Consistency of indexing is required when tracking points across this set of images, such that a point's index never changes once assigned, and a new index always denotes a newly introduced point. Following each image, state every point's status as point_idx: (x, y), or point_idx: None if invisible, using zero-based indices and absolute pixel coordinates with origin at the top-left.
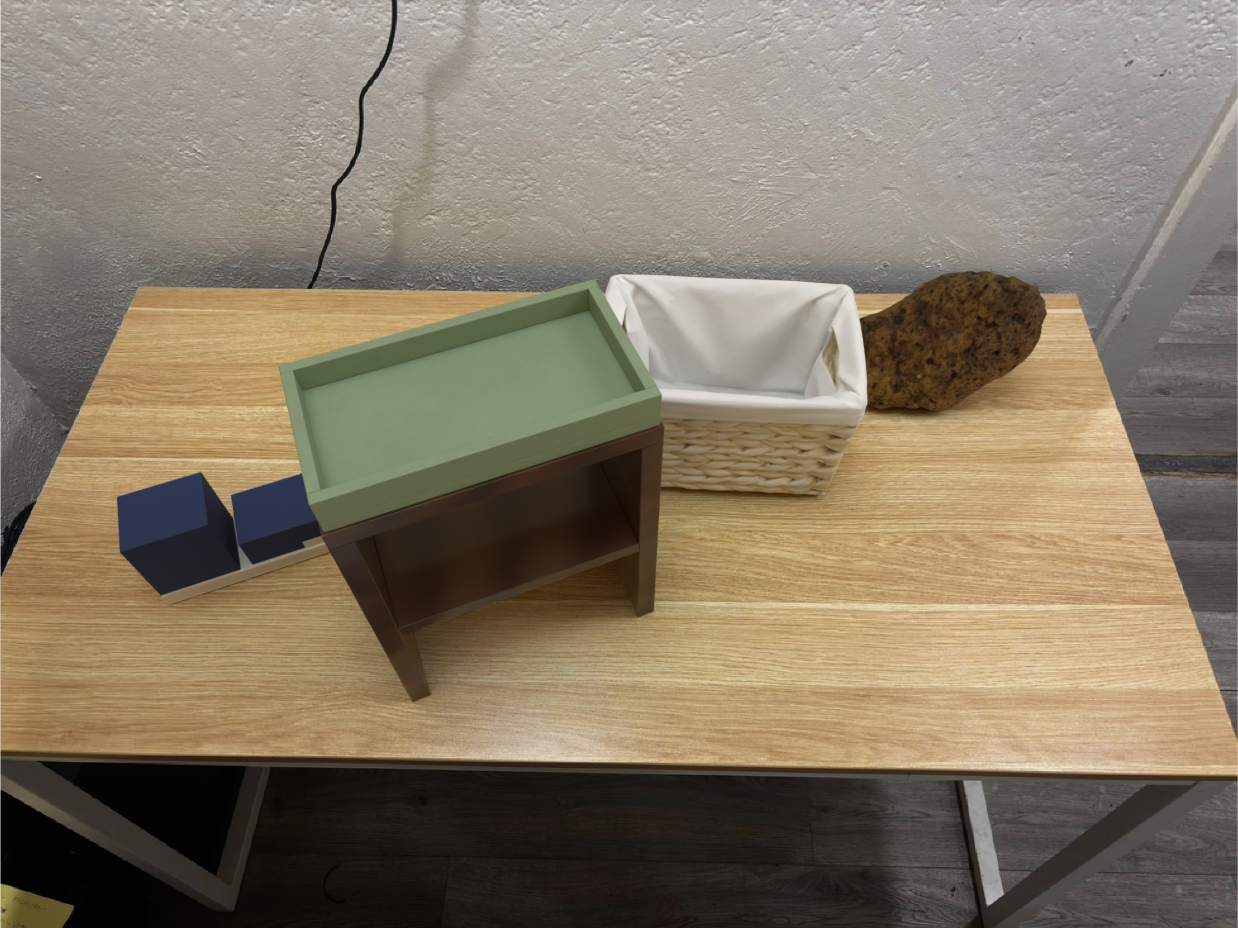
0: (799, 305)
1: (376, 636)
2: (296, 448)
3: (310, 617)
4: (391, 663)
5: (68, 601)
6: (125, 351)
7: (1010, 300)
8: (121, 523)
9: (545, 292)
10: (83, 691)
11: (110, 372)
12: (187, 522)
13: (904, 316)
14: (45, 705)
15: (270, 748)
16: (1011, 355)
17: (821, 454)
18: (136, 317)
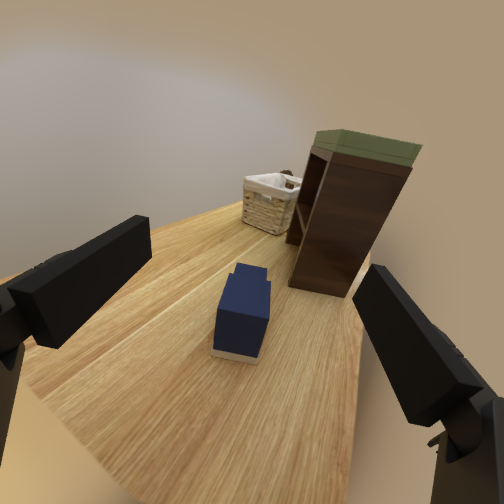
0: (275, 178)
1: (371, 246)
2: (392, 139)
3: (294, 310)
4: (360, 267)
5: (211, 438)
6: None
7: (290, 174)
8: (244, 312)
9: (319, 131)
10: (304, 443)
11: None
12: (264, 286)
13: None
14: (309, 486)
15: (360, 346)
16: (293, 186)
17: None
18: None
